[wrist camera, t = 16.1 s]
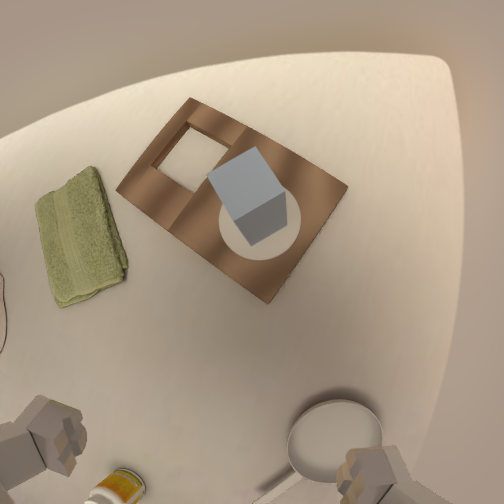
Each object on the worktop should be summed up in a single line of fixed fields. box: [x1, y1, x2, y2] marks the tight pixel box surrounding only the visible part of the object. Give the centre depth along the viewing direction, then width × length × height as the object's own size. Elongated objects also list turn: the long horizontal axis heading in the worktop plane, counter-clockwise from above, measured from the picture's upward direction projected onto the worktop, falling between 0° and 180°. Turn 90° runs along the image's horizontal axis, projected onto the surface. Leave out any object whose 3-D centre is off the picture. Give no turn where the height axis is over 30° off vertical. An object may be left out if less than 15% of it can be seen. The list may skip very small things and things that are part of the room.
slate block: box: [206, 146, 287, 246], centre depth 30 cm, size 4×4×11 cm
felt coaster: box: [219, 186, 301, 261], centre depth 35 cm, size 9×9×1 cm
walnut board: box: [115, 98, 348, 304], centre depth 38 cm, size 24×16×2 cm, turn 54°
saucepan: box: [252, 399, 383, 504], centre depth 30 cm, size 11×18×4 cm, turn 136°
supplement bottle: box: [84, 469, 145, 504], centre depth 29 cm, size 5×5×10 cm
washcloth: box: [35, 166, 128, 309], centre depth 39 cm, size 13×18×3 cm
